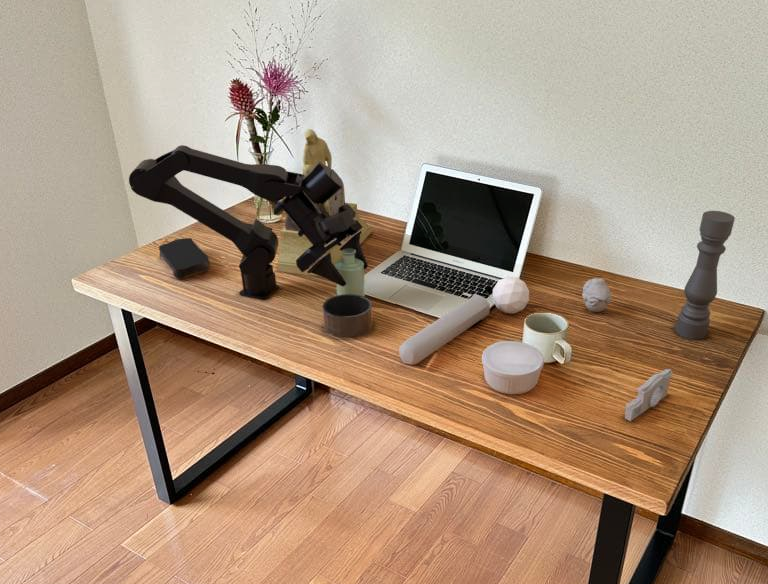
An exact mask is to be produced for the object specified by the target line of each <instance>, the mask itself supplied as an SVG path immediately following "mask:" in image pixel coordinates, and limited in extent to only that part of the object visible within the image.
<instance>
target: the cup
mask: <svg viewBox="0 0 768 584" xmlns="http://www.w3.org/2000/svg"><path fill="white" fill-rule="evenodd" d="M321 309H322V320H323V321H322V322H323V328H324V331H325V332H326V333H328V334H329V335H331V336H333V337H336V338H343V339H350V338H351V339H352V338H358V337H361V336H363V335H366V334H367V333H369V332H370V331H371V330H372V328H373V304H372V302H371V300H370V299H368V298H367V297H366V296H365V297H363V296H360V295H355V294H343V295H337V294H336V295H334V296H331V297H329V298H328V299H326V300H325V301H324V302H323V303H322V308H321Z"/></svg>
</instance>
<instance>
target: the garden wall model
mask: <svg viewBox="0 0 768 584" xmlns="http://www.w3.org/2000/svg"><path fill="white" fill-rule="evenodd" d="M673 374H674V372H673V371H672V369H671V368H664V369H663V370H662V371H661V372H658V373H656V374H655V373H654V374H653V375H652V376H650V377H648V379H647V380H646V381H644V383H643V384H642V385H641V386H639V387H636V391H637V392H638V393H637V397H636V398H633V399H632V400H631V401H630V402H628V403H627V404H625V412H624V419H625V420H628V421H629V422H632V421H633V420H634V419H636V418H637V417H639V416H640V415H642V414H643V413H644V412H646V411H647V410H649V409H650V408H654V407H655V406H657V405H658V404H659V402H660V401H661V400H662V399H664V398H665V397H666V396H668V391H669V387H670V383H671V380H672V376H673Z"/></svg>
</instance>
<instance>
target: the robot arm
mask: <svg viewBox="0 0 768 584" xmlns="http://www.w3.org/2000/svg"><path fill="white" fill-rule="evenodd" d="M183 171H185V172H188V173H192V174H196V175H200V176H203V177H206V178H207V177H208V178H211V179H215V180H218V181H221V182H225V183H228V184H232V185H236V186H240V187H242V188H244V189H245V190H247V191H249V192H250V193H252V194H253V195H255V196H256V197H259V198H260V199H263V200H266V201H268V202H272V203H273V204H274V207H273V215H274V216H278V215H280V214H283V213H285V214H286V216H287V215H288V216H289V217H290V218H291V220H292V221H293V222H294V223H295V225H296V226H297V227H298V228H299V229H300V231H299V232H298V233H297V234H298V235H299V236H300V237H301V236H303V235H305V237H306V238H307V239H308V240H309V241H310V243H311V244H312V245H313V246H311V247H310V248H308V249H307V250H306V251H305V252H304V253H303V254H302V255H301V256H300V257H299V258H298V259H297V260H296V265H297V267H298V268H299V269H300V271H301V272H302V273H303V272H304V271H306V270H307V269H309V268H311V269H310V270H308V271H307V273H313V274H316V275H318V276H317V277H321V278H323V279H325V280H328V281H330V282H332V283H333V284H335V285H336V284H338V285H340V286H345V285H346V282H345V280H344V278H343V277H342V276H341V274H340V273H339V271H338V270H337V269H336V267H335V266H334V265H333V263H332V262H331V254H330V253H328V254H327V255H325V253H326V252H327V251H328V250H330V249H331V248H333V247H334V246H336V245H339V246H341V245H342V247H341V248H340V250H341V251H342V250H344V249H347V248H351V249H355V250H356V254H355V258H357V259H359V260H361V261H362V262H363V263H364V270H367V268H369V264H368V261H367V260H366V257H365V255H364V252H363V249H362V246H361V244H360V234H361V233H362V232H361V231H360V232H358V231H359V230H360V229H361V228H363V227H362V225H361V224H360V223H359V222H358V221H357V220H354V217H355V215H356V212H355V211H354V210H353V209H352V208H351V207H350V206H349V205H348V204H345V205H342V206H341V207H339V208H338V213H336V214H334V215H331V216H330V215H329V213H328V212H326V211H324V212H322V213H321V212H320V211H319V210H318V208H317V207H316V206H315V205H314V203H317V204H320V203H321V204H324V203H325V202H326V201H328V200H329V199H330V198H331V197H332V196H333V195H334V194H335V193H336V192H338V191H339V190H340V189H341V188H342V187H343V186H344V187H345V185H344V181H343V179H342V178H341V177H340V176H339V174H338V173H337V172H336V171H335V169H333V168H331V169H330V168H329V167H328V165H327V164H326V165H324V164H323V163H322V162H320V161H319V162H318V163H317V164H316V165H315V166H314V168H313V169H312V170H311V171H310V172H309V173H308V174H306V175H304V174H303V173H298V172H294V171H287V169H285V168H284V167H282V166H280V165H277V164H267V163H255V164H254V163H253V164H250V163H244V162H241V161H237V160H234V159H230V158H226V157H223V156H219V155H216V154H212V153H209V152H205V151H201V150H199V149H195V148H192V147H189V146H188V145H185V144H183V145H182V144H181V145H178V146H177V147H176V148H175V149H173V150H171V151H168V152H167V153H164V154H162V155H160V156H159V157H156V158H155V159H153V158H148V159H144V160H142V161H140V162H139V164H138V165H137V166H136V167H135V168H134V169H133V170H132V171H131V173H130V174H129V176H128V184H129V187H130V189H131V191H132V192H133V193H134V194H136V195H137V196H139V197H142V198H145V199H147V200H149V201H152V202H155V203H159V204H166V205H170V206H172V207H174V208H175V209H177V210H179V211H180V212H182V213H184V214H185V215H187V216H189V217H190V218H192V219H194V220H196V221H197V222H199V223H200V224H202V225H204V226H206V227H207V228H209V229H210V230H213V231H214V232H216V233H217V234H219V235H220V236H222V237H224V238H225V239H227V240H229V241H231V242H232V243H233V244H234V246H235V247H236V248H237V249H238V251H239V252H240V253H241V254H242V256H241V259H240V262H239V264H238V268H239V270H240V277H241V281H242V282H241V285H242V289H241V290H240V291H239V295H240V296H245V297H249V298H254V299H259V300H266V299H267V298H268V297H270V296H271V295H272V294H273V293H274V292H276V291H277V290H278V289H280V286H279V285H278V284H277V279H276V273H275V271H274V265H272V263H273V261H274V260H275V258H276V255H277V252H278V248H279V245H280V244H279V242H280V241H279V238H278V235H277V234H276V233H275V232H274V231H273V227H270V226H267V225H265V224H264V223H262V222H261V221H260V220H259V219H257V218H256V219H254V221H253V223H250V222H249V223H248V222H244V221H242V220H240V219H238V218H237V217H235V216H234V215H232V214H231V213H229V212H228V211H225V210H224V209H222V208H220V207H219V206H217V205H215V204H214V203H212V202H211V201H209V200H207V199H205V198H204V197H203V196H201V195H199V194H197V193H196V192H194V191H192V190H191V189H189V188H188V187H186V186H184V185H183V184H182V183H181V182H180V180H178V178H177V177H176V175H178V174H180V173H181V172H183ZM341 179H342V180H341ZM342 181H343V182H342ZM304 192H305V193H306V194H305V193H304ZM312 201H313V202H314V203H313V202H312ZM357 232H358V233H357ZM325 244H326V245H325ZM316 275H315V276H316Z"/></svg>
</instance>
